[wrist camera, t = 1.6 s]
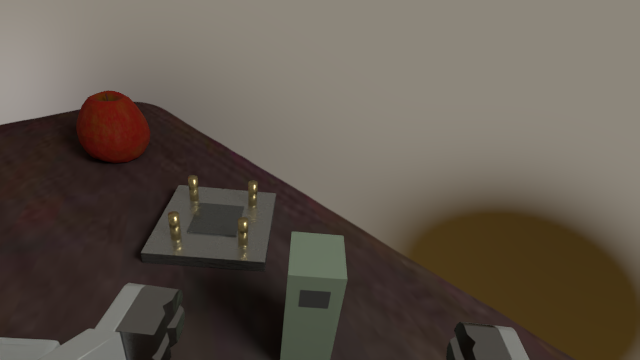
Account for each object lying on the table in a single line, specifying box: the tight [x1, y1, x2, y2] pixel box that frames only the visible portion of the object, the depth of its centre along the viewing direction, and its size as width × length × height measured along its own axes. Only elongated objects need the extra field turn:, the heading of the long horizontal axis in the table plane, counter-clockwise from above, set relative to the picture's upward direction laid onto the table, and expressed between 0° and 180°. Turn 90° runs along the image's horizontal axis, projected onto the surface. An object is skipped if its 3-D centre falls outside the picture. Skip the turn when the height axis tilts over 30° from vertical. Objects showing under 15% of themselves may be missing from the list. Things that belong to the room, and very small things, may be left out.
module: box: [280, 232, 347, 360], centre depth 34 cm, size 4×5×12 cm
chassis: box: [141, 175, 276, 271], centre depth 48 cm, size 14×14×5 cm
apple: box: [77, 91, 150, 163], centre depth 60 cm, size 10×10×10 cm
